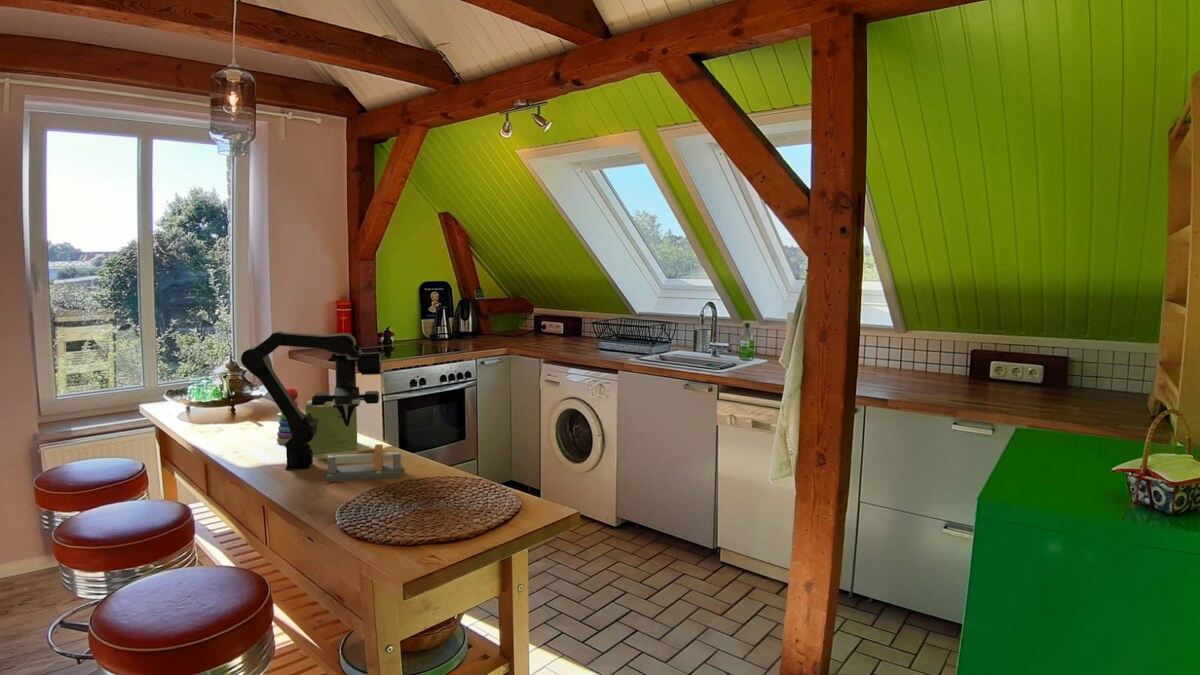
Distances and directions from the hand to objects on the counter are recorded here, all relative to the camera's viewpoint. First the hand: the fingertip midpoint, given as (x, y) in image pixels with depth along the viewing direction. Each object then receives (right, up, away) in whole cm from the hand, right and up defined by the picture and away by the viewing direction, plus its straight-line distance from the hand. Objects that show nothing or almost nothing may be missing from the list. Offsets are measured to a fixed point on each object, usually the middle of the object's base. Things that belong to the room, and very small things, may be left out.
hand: (347, 425), depth 206 cm
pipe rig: (+8, -13, -8) cm, 17 cm away
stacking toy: (-28, -9, +23) cm, 38 cm away
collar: (+12, -11, -7) cm, 18 cm away
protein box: (-11, -10, +17) cm, 23 cm away
